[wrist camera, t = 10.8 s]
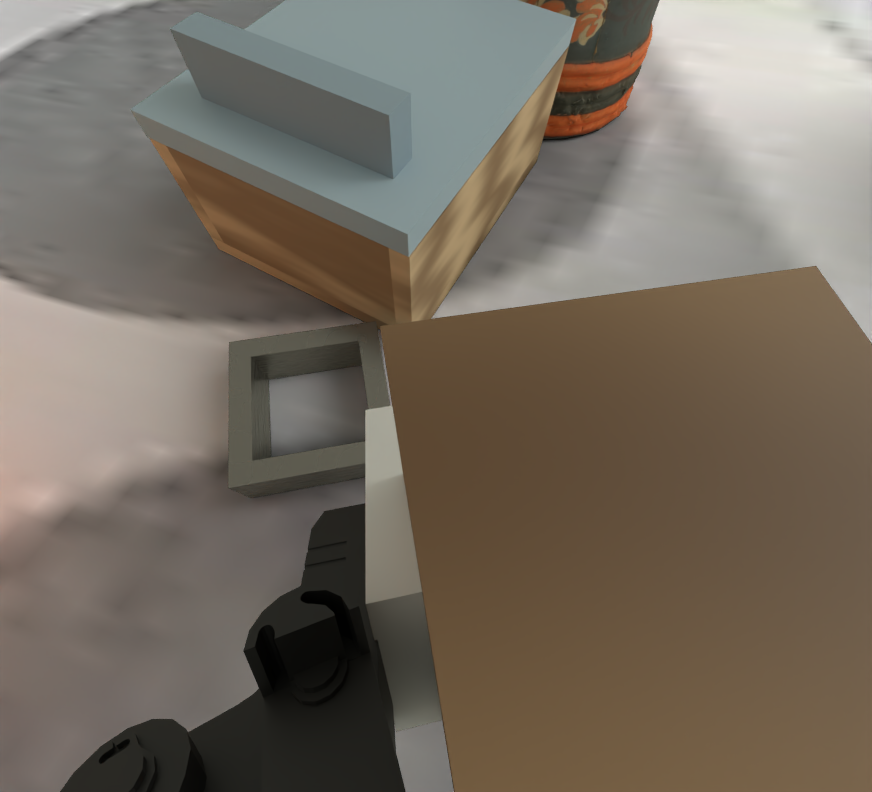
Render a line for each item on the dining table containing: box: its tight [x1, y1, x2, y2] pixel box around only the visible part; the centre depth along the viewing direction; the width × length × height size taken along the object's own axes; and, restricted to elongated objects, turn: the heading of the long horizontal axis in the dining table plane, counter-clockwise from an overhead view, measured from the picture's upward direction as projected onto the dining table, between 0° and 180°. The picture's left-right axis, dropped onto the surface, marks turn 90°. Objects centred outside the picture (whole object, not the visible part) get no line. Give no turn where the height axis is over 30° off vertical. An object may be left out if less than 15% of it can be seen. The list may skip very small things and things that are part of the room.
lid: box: [130, 0, 576, 257], centre depth 19 cm, size 18×14×4 cm
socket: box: [228, 321, 390, 498], centre depth 20 cm, size 7×7×2 cm
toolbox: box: [150, 47, 569, 329], centre depth 24 cm, size 18×14×7 cm
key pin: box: [380, 266, 872, 792], centre depth 10 cm, size 4×4×17 cm
